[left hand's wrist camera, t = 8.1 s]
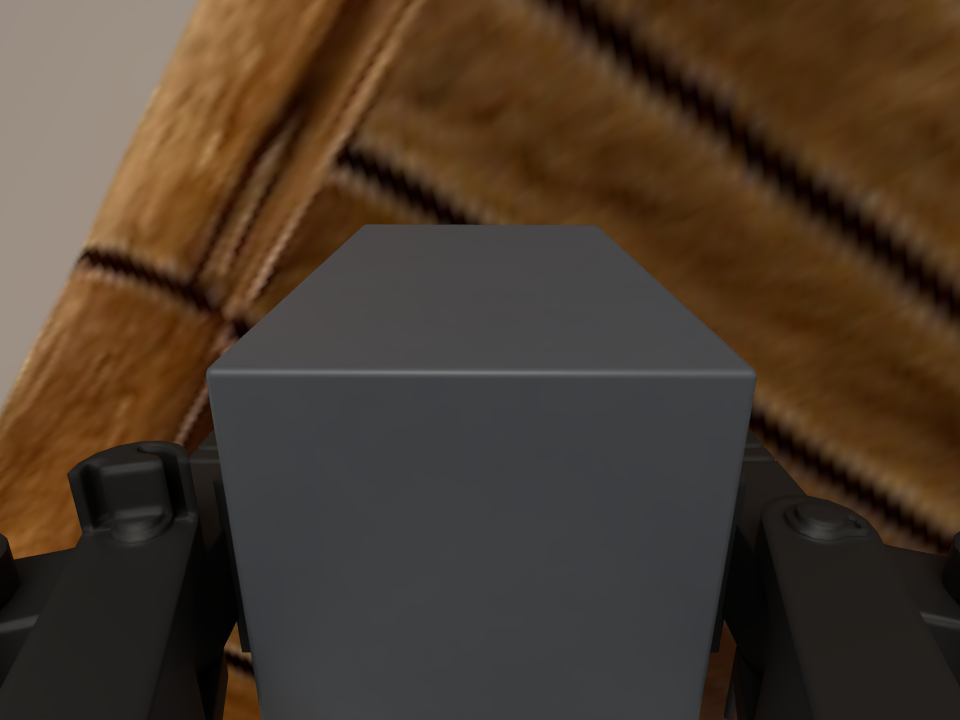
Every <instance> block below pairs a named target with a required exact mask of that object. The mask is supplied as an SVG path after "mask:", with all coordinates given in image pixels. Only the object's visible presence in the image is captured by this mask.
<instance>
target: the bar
mask: <svg viewBox="0 0 960 720" xmlns="http://www.w3.org/2000/svg"><path fill="white" fill-rule="evenodd" d="M206 379H207V385H208V392H209V398H210V404H211V410H212V416H213V422H214V429H215V435H216V441H217V447H218V453H219V459H220V466H221V472H222V478H223V484H224V490H225V496H226V503H227V509H228V515H229V521H230V527H231V533H232V540H233V546H234V552H235V558H236V564H237V570H238V577H239V583H240V589H241V595H242V601H243V607H244V613H245V620H246V626H247V632H248V638H249V644H250V650H251V657H252V663H253V669H254V675H255V681H256V687H257V694H258V700H259V706H260V712H261V718H262V720H699V715H700V709H701V703H702V697H703V691H704V685H705V679H706V673H707V667H708V662H709V656H710V650H711V644H712V638H713V632H714V626H715V620H716V614H717V609H718V603H719V597H720V591H721V585H722V579H723V573H724V567H725V562H726V556H727V550H728V544H729V538H730V532H731V526H732V520H733V514H734V509H735V503H736V497H737V491H738V485H739V479H740V473H741V467H742V462H743V456H744V450H745V444H746V438H747V432H748V426H749V420H750V414H751V409H752V403H753V397H754V391H755V385H756V379H757V376H756V372H755V370H754V369H753V368H752V367H751V366H750V365H749V364H748V363H747V362H746V361H745V360H743V359H742V358H741V357H740V356H739V355H738V354H737V353H736V352H735V351H734V350H733V349H731V348H730V347H729V346H728V345H727V344H726V343H725V342H724V341H723V340H722V339H720V338H719V337H718V336H717V335H716V334H715V333H714V332H713V331H712V330H711V329H710V328H708V327H707V326H706V325H705V324H704V323H703V322H702V321H701V320H700V319H699V318H697V317H696V316H695V315H694V314H693V313H692V312H691V311H690V310H689V309H688V308H687V307H685V306H684V305H683V304H682V303H681V302H680V301H679V300H678V299H677V298H676V297H674V296H673V295H672V294H671V293H670V292H669V291H668V290H667V289H666V288H665V287H664V286H662V285H661V284H660V283H659V282H658V281H657V280H656V279H655V278H654V277H653V276H651V275H650V274H649V273H648V272H647V271H646V270H645V269H644V268H643V267H642V266H641V265H639V264H638V263H637V262H636V261H635V260H634V259H633V258H632V257H631V256H630V255H628V254H627V253H626V252H625V251H624V250H623V249H622V248H621V247H620V246H619V245H618V244H616V243H615V242H614V241H613V240H612V239H611V238H610V237H609V236H608V235H607V234H605V233H604V232H603V231H602V230H601V229H600V228H599V227H598V226H595V225H364V226H363V227H362V228H361V229H359V230H358V231H357V232H356V233H355V234H354V235H353V236H352V237H351V238H350V239H349V240H347V241H346V242H345V243H344V244H343V245H342V246H341V247H340V248H339V249H338V250H337V251H335V252H334V253H333V254H332V255H331V256H330V257H329V258H328V259H327V260H326V261H325V262H323V263H322V264H321V265H320V266H319V267H318V268H317V269H316V270H315V271H314V272H313V273H311V274H310V275H309V276H308V277H307V278H306V279H305V280H304V281H303V282H302V283H301V284H300V285H298V286H297V287H296V288H295V289H294V290H293V291H292V292H291V293H290V294H289V295H288V296H286V297H285V298H284V299H283V300H282V301H281V302H280V303H279V304H278V305H277V306H276V307H274V308H273V309H272V310H271V311H270V312H269V313H268V314H267V315H266V316H265V317H264V318H262V319H261V320H260V321H259V322H258V323H257V324H256V325H255V326H254V327H253V328H252V329H250V330H249V331H248V332H247V333H246V334H245V335H244V336H243V337H242V338H241V339H240V340H238V341H237V342H236V343H235V344H234V345H233V346H232V347H231V348H230V349H229V350H228V351H226V352H225V353H224V354H223V355H222V356H221V357H220V358H219V359H218V360H217V361H216V362H214V363H213V364H212V365H211V366H210V367H209V368H208V370H207V373H206Z"/></svg>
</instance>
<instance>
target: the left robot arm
mask: <svg viewBox="0 0 960 720" xmlns="http://www.w3.org/2000/svg"><path fill="white" fill-rule="evenodd" d="M67 476H68V480H69V483H70V487H71V491H72V495H73V499H74V502H75V506H76V510H77V514H78V518H79V521H80V525H81V529H82V535H81V537H80V539H79V541H78V543H77V545H76V547H75V548H71V549H67V550H62V551H57V552H52V553H46V554H41V555H36V556H30V557H25V558H20V559H15V560H14V559H13V556H12V552H11V549H10V546H9V543H8V540H7V538H6V537H5V536H3V535H2V534H1V533H0V720H223V712H224V704H225V697H226V689H227V682H228V670H227V663H226V657H225V652H224V646H225V644H226V642H227V640H228V638H229V636H230V634H231V632H232V630H233V628H234V625H235V623H236V621H237V625H238V631H239V637H240V643H241V648H242V652H251V650H250V644H249V638H248V632H247V626H246V620H245V613H244V607H243V601H242V595H241V589H240V583H239V577H238V570H237V564H236V558H235V552H234V546H233V540H232V533H231V527H230V521H229V515H228V509H227V503H226V496H225V490H224V484H223V478H222V472H221V466H220V459H219V453H218V447H217V441H216V435H215V430H213V431H211V432H210V434H209V435H208V436H207V437H206V438H205V439H204V441H203V442H202V443H201V444H200V445H199V446H198V450H195V451H194V452H193V453H192V454H191V456H190V457H189V456H188V451H187V450H186V449H185V448H183V447H182V446H180V445H179V444H176V443H171V442H166V441H141V442H136V443H130V444H125V445H119V446H116V447H113V448H110V449H107V450H104V451H101V452H99V453H96V454H94V455H92V456H91V457H89V458H87V459H85V460H83V461H81V462H79V463H78V464H77V465H76V466H75V467H74V468H73V469H72V470H71V471H70V472H69V473H68V474H67ZM724 619H725V621H726V623H727V625H728V627H729V629H730V631H731V634H732V636H733V638H734V640H735V642H736V644H737V647H736V652H735V657H734V663H733V668H732V674H731V679H730V685H729V690H728V695H727V701H726V707H725V714H724V718H726V719H731V720H733V716H734V710H735V706H736V710H737V718H738V720H960V532H958V533H957V534H955V535H954V538H953V542H952V545H951V548H950V551H949V554H948V557H946V556H940V555H935V554H930V553H924V552H919V551H914V550H908V549H903V548H898V547H893V546H889V545H885V544H883V542H882V540H881V538H880V536H879V534H878V532H877V531H876V530H875V529H874V528H873V527H872V525H871V524H870V523H869V522H868V521H867V520H866V519H865V518H863V517H861V516H860V515H858V514H857V513H855V512H854V511H852V510H851V509H849V508H846V507H844V506H841V505H839V504H836V503H834V502H831V501H829V500H824V499H820V498H815V497H811V496H807V495H806V494H805V493H804V491H803V490H802V489H801V488H800V487H799V486H798V485H797V483H796V482H795V481H794V480H793V479H792V478H791V476H790V475H789V474H788V473H787V472H786V471H785V470H784V468H783V467H782V466H781V465H780V464H779V463H778V462H777V461H774V457H773V456H772V455H771V453H770V452H769V451H768V450H767V449H766V448H763V444H762V443H761V442H760V441H759V440H758V438H757V437H756V436H755V435H754V434H753V433H752V432H751V430H750V429H748V432H747V438H746V444H745V450H744V456H743V462H742V467H741V473H740V479H739V485H738V491H737V497H736V503H735V509H734V514H733V520H732V526H731V532H730V538H729V544H728V550H727V556H726V562H725V567H724V573H723V579H722V585H721V591H720V597H719V603H718V609H717V614H716V620H715V626H714V632H713V638H712V644H711V650H710V652H718V651H719V645H720V639H721V634H722V628H723V622H724Z"/></svg>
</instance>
